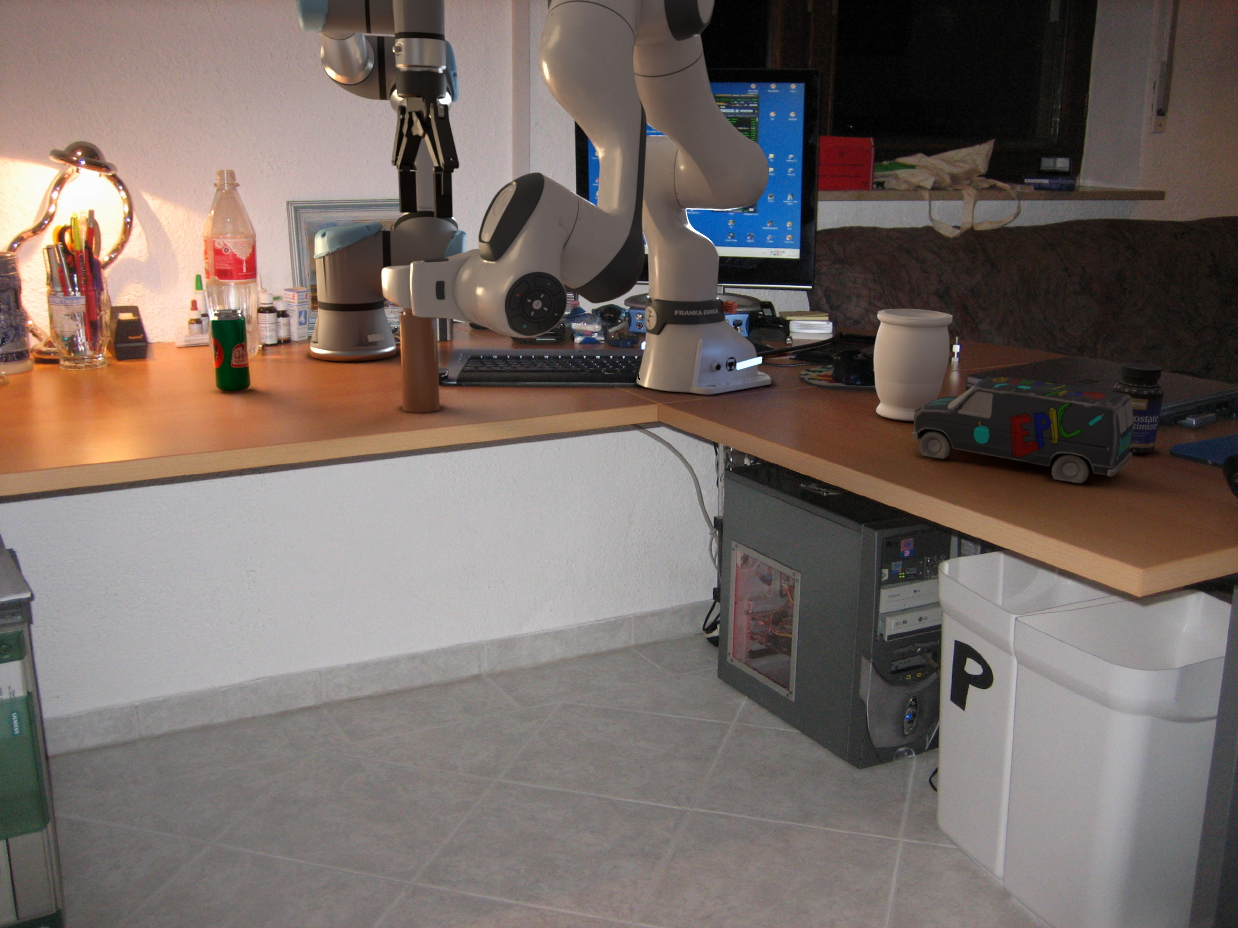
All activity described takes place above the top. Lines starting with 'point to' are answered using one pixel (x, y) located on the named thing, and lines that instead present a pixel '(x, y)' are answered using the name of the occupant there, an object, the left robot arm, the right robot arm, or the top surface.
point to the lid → (442, 372)
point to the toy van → (1032, 426)
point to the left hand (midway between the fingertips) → (425, 215)
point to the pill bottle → (1142, 402)
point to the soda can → (230, 350)
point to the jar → (910, 360)
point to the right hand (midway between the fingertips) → (446, 275)
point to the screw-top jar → (419, 362)
